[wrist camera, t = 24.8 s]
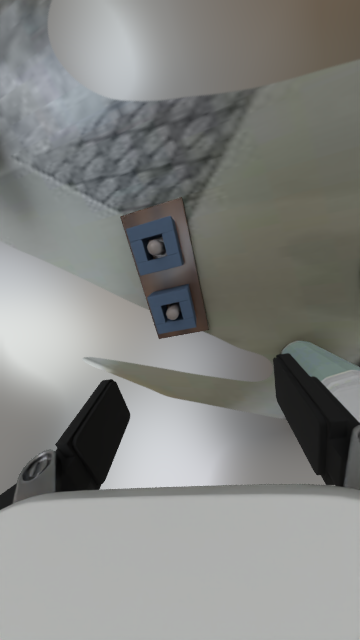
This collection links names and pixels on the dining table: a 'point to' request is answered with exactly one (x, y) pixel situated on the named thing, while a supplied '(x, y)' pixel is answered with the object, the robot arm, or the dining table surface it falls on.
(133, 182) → the dining table surface
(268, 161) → the dining table surface
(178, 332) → the wooden peg board
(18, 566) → the robot arm
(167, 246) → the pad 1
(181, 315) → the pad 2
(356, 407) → the disposable coffee cup
